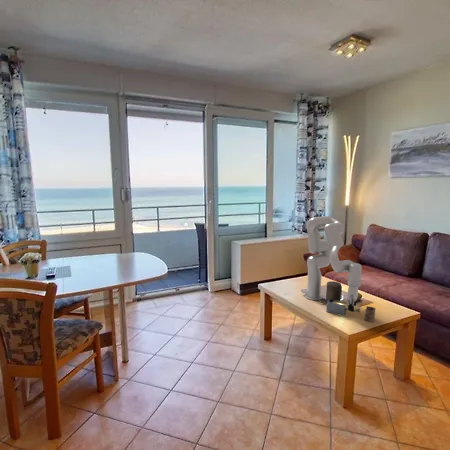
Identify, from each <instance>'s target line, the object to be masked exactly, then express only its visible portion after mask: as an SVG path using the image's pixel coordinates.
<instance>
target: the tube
mask: <svg viewBox="0 0 450 450" xmlns="http://www.w3.org/2000/svg"><path fill="white" fill-rule="evenodd" d="M333 303H337V304H342V305H345V310H346V311H348V305H349V303H346V304H344V303H339V302H333ZM353 312H355V313H360V312H361V306H357V305H356V306H354V311H353Z"/></svg>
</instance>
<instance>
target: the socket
mask: <svg viewBox="0 0 450 450" xmlns="http://www.w3.org/2000/svg"><path fill="white" fill-rule="evenodd" d="M375 316H376V307H374V306H367V305H366V309H365V311H364V321H365V322H368V323H369V322H370V323H374V322H375V318H376V317H375Z"/></svg>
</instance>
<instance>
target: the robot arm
mask: <svg viewBox="0 0 450 450" xmlns="http://www.w3.org/2000/svg"><path fill="white" fill-rule="evenodd" d="M320 229H321V230H322V229H323V231H324V234H325V236H326V238H327V239H323V238H322V239H321V233H320V231H319V230H320ZM345 229H346V228H345V226H344V224H343V223H342V222H341V221H339V220H337V219H335V218H334V217H331V216H327V215H324V216H323V215H322V216H315V217H311V218H309V220H307V223H306V230H307V231H306V232H307V238H308V239H307V242H308V251H309V252H310V253H311V254H313V255H311V256H309V257H308V258H307V260H306V264H307V286H306V289H302V288H301V292H302V294H304V297H305V299H307V300H310V301H320V300H323V295H322V294H321V292H322V291H321V290H322V272H321V268H326V267H328V266H329V265H331V268H332V269H333V271H334V272H335V273H337V274H342V273H343V274H344V273H347V286H348V289H347V296H346V297H347V299H346V302H347V301H348V304H349V305H348V310H347V311H349V312H352V313H353V312H354V306H357V299H358V294H359V287H361V285H362V283H361V282H362V271H363V270H362V267H363V266H362V264H360V263H358V262H354V261H352V260H350V259H345V260H340V258H339V251H340V249H341V248H342V247H343V246H344V241H343V239H342V236H341V235H342V234H344V232H345Z"/></svg>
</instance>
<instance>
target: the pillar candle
mask: <svg viewBox="0 0 450 450" xmlns="http://www.w3.org/2000/svg"><path fill="white" fill-rule="evenodd" d="M325 292H326V293H325V294H326V295H325V302H326V303H327V301H328V300H329V299H334V300H339V301H341V298H342V297H341V294H342V283H340V282H339V281H327V282H326V291H325Z"/></svg>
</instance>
